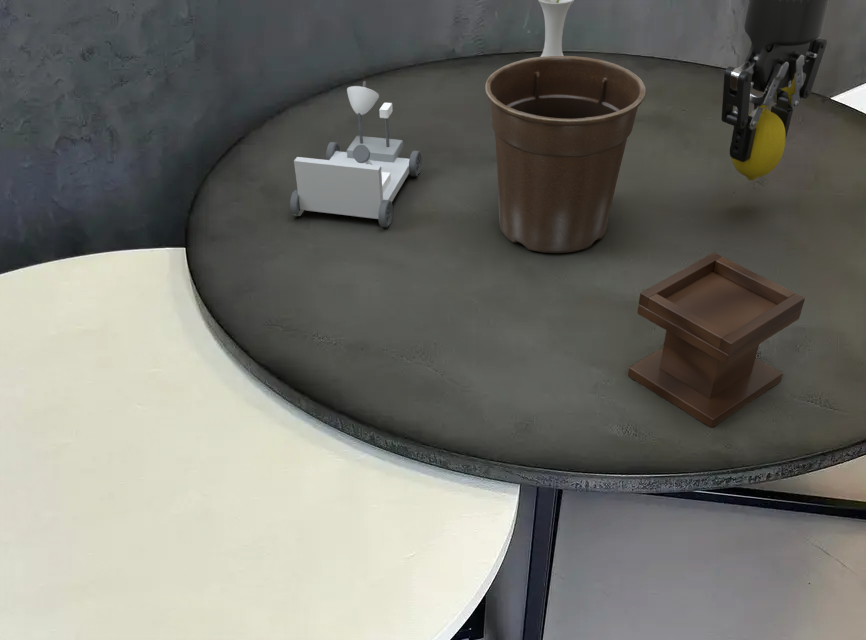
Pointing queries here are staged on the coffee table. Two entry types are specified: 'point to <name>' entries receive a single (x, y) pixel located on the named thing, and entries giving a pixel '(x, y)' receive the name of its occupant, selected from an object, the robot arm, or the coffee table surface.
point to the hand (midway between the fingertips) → (757, 149)
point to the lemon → (764, 147)
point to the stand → (713, 336)
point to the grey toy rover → (356, 170)
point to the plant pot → (560, 147)
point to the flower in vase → (554, 25)
